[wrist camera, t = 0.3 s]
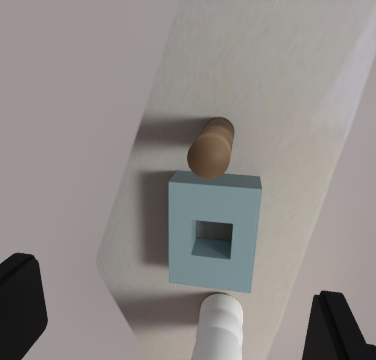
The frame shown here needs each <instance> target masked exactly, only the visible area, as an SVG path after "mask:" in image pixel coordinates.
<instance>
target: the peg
mask: <svg viewBox="0 0 376 360" xmlns="http://www.w3.org/2000/svg"><path fill="white" fill-rule="evenodd" d="M233 138H234V127H233V125H232V123H231V122H230V121H229V120H227V119H226V118H222V117H217V118H214V119H212V120H211V121H209V123H208V124H207V125H206V127H205V128H204V129H203V131H202V132H201V133H200V135H199V136H198V137H197V139H196V140H195V142H194V143H193V144H192V146H191V147H190V149H189V151H188V155H187V161H188V165H189V167H190V169H191V170H192V171H193V173H195V174H196V175H197V176H199V177H201V178H205V179H213V178H217V177H219V176H221V175H222V174H223V173H224V172H225V171H226V170H227V168H228V166H229V162H230V156H231V150H232V144H233Z"/></svg>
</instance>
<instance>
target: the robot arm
mask: <svg viewBox="0 0 376 360" xmlns="http://www.w3.org/2000/svg"><path fill="white" fill-rule="evenodd" d="M47 322H48V318H47V312H46V305H45V299H44V293H43V287H42V281H41V275H40V268H39V263H38V261H37V260H36V259H35V257H34V256H33V255H31V254H24V253H15V254H13V255H11V256H10V257H9V258H7V259H6V260H5V261H3V262H2V263H1V264H0V360H21V359H22V358H23V357H24V356H25V354H26V353H27V352H28V351H29V349H30V348H31V347H32V345H33V344H34V343H35V341H37V339H38V338H39V337H40V336H41V334H42V333H43V332H44V330H45V329H46V326H47ZM302 360H376V346H375V345H370V344H366V342H365V340H364V337H363V335H362V333H361V331H360V329H359V327H358V325H357V322H356V320H355V318H354V316H353V314H352V312H351V310H350V308H349V306H348V303H347V301H346V299H345V297H344V295H343V294H342V293H339V292H331V291H321V293H320V295H314V297H313V302H312V307H311V313H310V318H309V324H308V329H307V335H306V340H305V346H304V351H303V357H302Z"/></svg>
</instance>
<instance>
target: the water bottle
mask: <svg viewBox="0 0 376 360" xmlns="http://www.w3.org/2000/svg"><path fill="white" fill-rule="evenodd" d="M242 323H243V311H242V307H241V305H240V304H239V302H238V301H237V300H236V299H234V298H233V297H231V296H229V295H226V294H213V295H210V296H208V297H207V298H206V299H205V300H204V301H203V303H202V305H201V309H200V315H199V323H198V326H197V331H196V342H195V346H194V350H193V354H192V359H191V360H242V351H241V347H242V341H243V334H242Z"/></svg>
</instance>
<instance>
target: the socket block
mask: <svg viewBox="0 0 376 360" xmlns="http://www.w3.org/2000/svg"><path fill="white" fill-rule="evenodd" d="M261 193H262V187H261V180H260V177H258V176H244V175H230V174H222V175H221V176H219V177H217V178H213V179H205V178H201V177H199V176H197V175H196V174H195V173H193V172H189V171H176V172H175V173H174V175H173V176H172V178H171V179H170V181H169V283H176V284H184V285H192V286H199V287H207V288H214V289H222V290H229V291H237V292H244V293H251V285H252V275H253V266H254V257H255V248H256V239H257V230H258V220H259V211H260V202H261ZM197 220H199V221H209V222H220V223H230V224H233V232H232V241H226V240H216V239H207V238H198V237H196V221H197Z"/></svg>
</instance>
